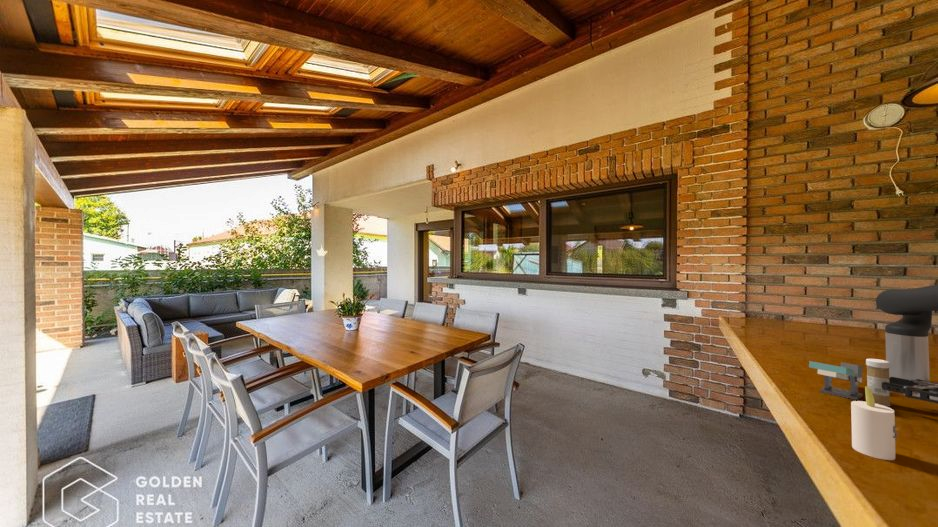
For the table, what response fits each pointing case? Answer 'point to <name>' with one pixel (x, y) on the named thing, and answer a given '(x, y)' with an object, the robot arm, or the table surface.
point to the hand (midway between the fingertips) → (885, 382)
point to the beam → (838, 370)
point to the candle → (873, 428)
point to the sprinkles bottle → (878, 380)
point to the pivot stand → (841, 392)
